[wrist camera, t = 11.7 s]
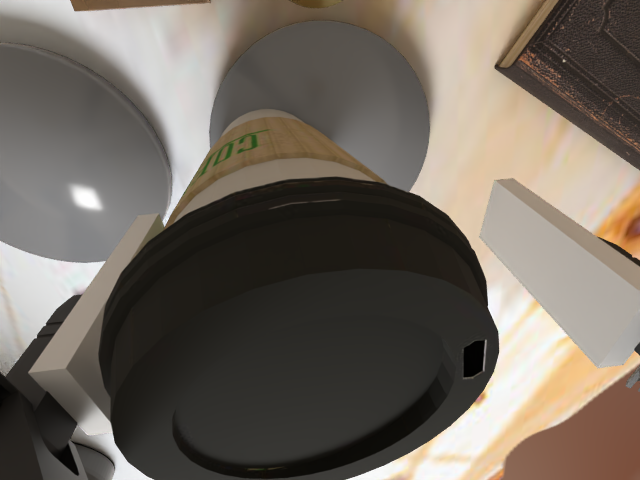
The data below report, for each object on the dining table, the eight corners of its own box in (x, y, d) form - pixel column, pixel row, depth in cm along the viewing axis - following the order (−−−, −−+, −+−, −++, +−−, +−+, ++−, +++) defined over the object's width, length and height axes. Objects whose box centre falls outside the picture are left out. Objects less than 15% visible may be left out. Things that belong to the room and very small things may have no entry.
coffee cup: (142, 107, 16) (-111, 373, 4) (328, 43, 17) (570, 138, 5) (226, 252, 22) (214, 534, 10) (363, 204, 22) (509, 430, 10)
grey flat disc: (12, 260, 23) (0, 271, 23) (-147, 52, 16) (-175, 55, 15) (195, 243, 24) (192, 252, 23) (125, 33, 17) (115, 34, 16)
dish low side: (237, 239, 24) (235, 248, 23) (185, 28, 17) (179, 30, 16) (411, 222, 25) (416, 231, 24) (437, 11, 17) (446, 11, 16)
